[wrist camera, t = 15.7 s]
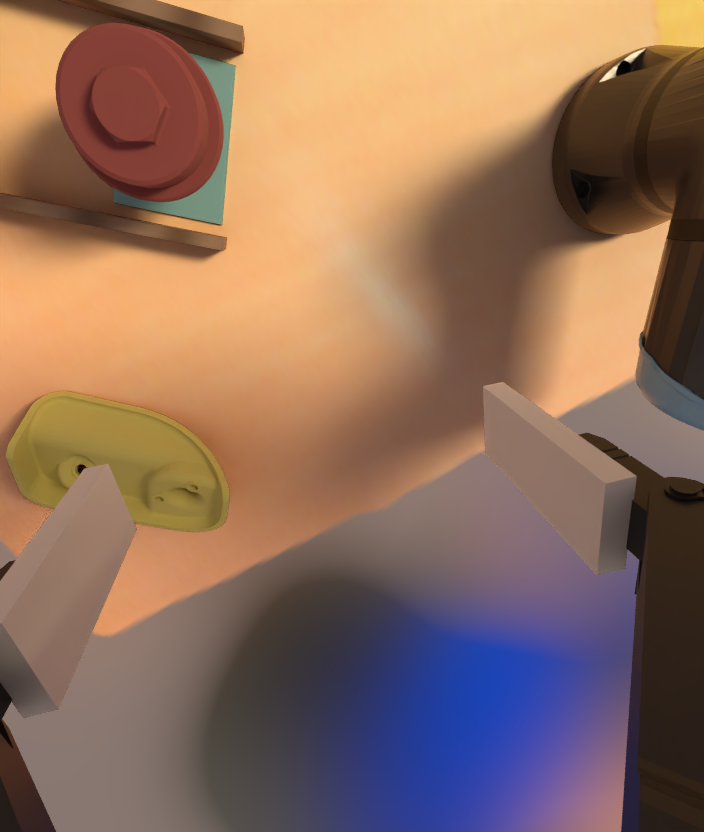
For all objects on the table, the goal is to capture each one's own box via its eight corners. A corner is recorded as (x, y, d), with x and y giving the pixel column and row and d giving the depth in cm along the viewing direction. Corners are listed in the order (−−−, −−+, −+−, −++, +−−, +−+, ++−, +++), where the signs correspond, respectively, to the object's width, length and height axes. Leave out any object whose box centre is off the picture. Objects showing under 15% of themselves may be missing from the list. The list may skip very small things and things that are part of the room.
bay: (244, 38, 36) (242, 26, 34) (225, 249, 42) (223, 250, 40) (-49, -48, 32) (-73, -69, 30) (-25, 200, 38) (-44, 199, 35)
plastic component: (24, 503, 46) (0, 444, 39) (59, 446, 51) (43, 385, 44) (222, 539, 50) (232, 490, 43) (237, 482, 55) (247, 431, 48)
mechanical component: (75, 112, 36) (176, 35, 35) (162, 228, 40) (255, 161, 40) (-13, 65, 25) (132, -49, 24) (121, 232, 29) (249, 139, 28)
